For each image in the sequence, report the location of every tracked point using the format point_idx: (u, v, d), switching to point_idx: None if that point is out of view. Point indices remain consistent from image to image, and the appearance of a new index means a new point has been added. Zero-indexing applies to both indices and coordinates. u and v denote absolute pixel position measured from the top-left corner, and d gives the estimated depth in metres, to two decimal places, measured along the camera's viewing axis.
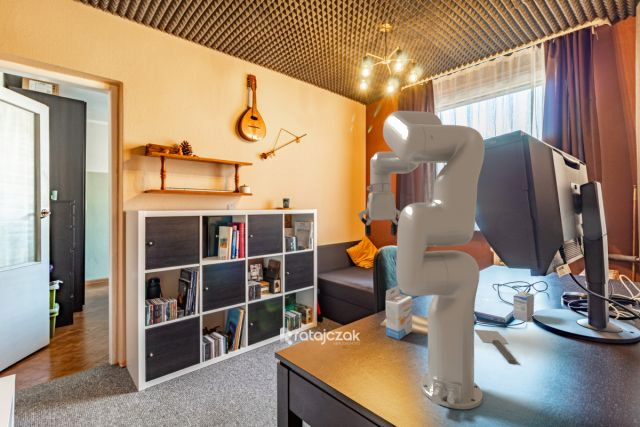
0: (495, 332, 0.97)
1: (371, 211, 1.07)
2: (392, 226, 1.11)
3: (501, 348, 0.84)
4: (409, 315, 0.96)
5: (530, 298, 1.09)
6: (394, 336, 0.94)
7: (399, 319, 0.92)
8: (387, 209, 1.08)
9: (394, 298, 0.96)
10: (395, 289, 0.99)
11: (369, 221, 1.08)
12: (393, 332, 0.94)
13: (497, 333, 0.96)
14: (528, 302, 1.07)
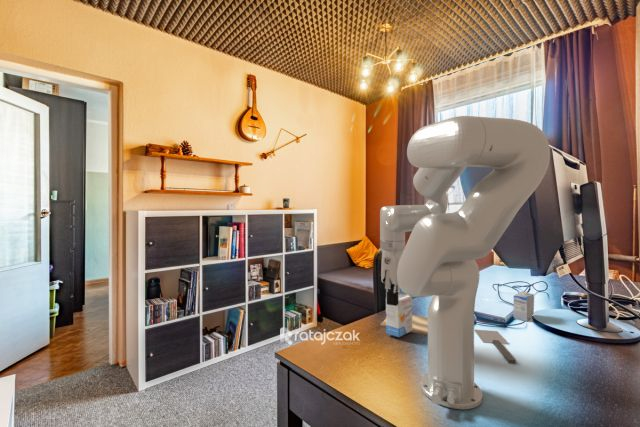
0: (495, 332, 0.97)
1: (396, 275, 0.87)
2: None
3: (501, 348, 0.84)
4: (409, 314, 0.97)
5: (530, 298, 1.09)
6: (394, 334, 0.94)
7: (399, 316, 0.93)
8: None
9: None
10: None
11: (395, 288, 0.90)
12: (393, 330, 0.94)
13: (497, 333, 0.96)
14: (528, 302, 1.07)
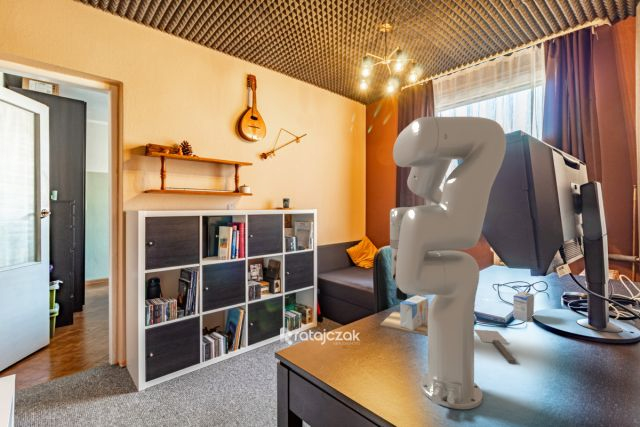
0: (495, 332, 0.97)
1: None
2: None
3: (501, 348, 0.84)
4: (421, 319, 1.02)
5: (530, 298, 1.09)
6: (409, 303, 1.00)
7: (421, 301, 1.03)
8: None
9: None
10: None
11: None
12: (410, 302, 1.01)
13: (497, 333, 0.96)
14: (528, 302, 1.07)
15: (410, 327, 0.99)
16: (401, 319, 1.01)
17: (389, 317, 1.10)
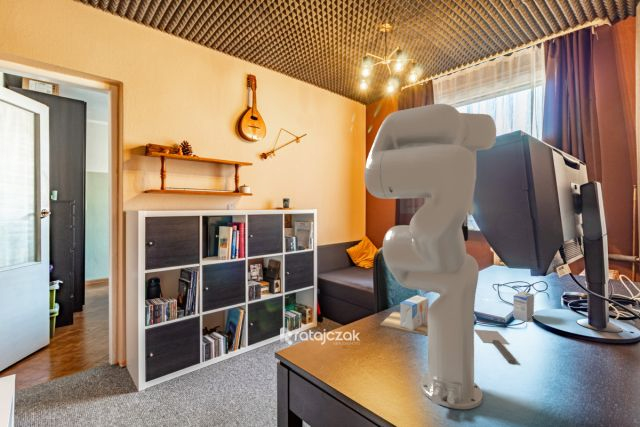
0: (495, 332, 0.97)
1: None
2: None
3: (501, 348, 0.84)
4: (421, 319, 1.02)
5: (530, 298, 1.09)
6: (409, 304, 1.00)
7: (422, 301, 1.03)
8: (472, 201, 0.83)
9: None
10: None
11: (466, 220, 0.81)
12: (410, 302, 1.01)
13: (497, 333, 0.96)
14: (528, 302, 1.07)
15: (410, 327, 0.99)
16: (401, 319, 1.01)
17: (389, 317, 1.10)
